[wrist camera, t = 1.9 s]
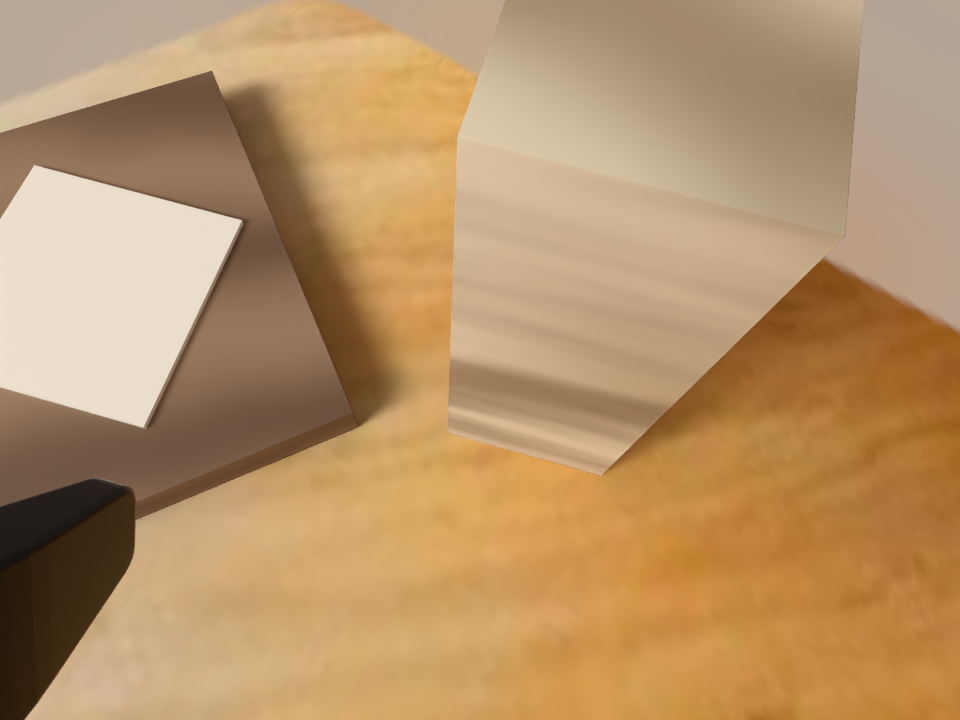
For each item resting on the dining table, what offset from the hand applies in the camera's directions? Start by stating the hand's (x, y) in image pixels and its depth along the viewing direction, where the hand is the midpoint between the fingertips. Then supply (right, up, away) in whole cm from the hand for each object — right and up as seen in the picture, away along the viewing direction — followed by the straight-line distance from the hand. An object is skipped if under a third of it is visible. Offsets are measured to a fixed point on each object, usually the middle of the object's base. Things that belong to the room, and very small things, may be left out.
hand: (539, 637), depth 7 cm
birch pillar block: (+1, +2, +15) cm, 16 cm away
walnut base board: (-13, +4, +16) cm, 21 cm away
